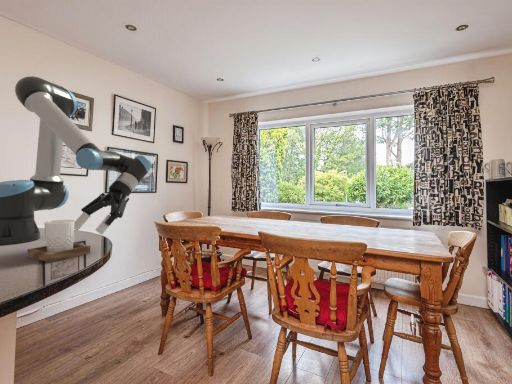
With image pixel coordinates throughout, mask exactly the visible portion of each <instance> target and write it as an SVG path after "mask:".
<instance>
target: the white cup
mask: <svg viewBox="0 0 512 384" xmlns="http://www.w3.org/2000/svg"><path fill="white" fill-rule="evenodd" d="M75 221H76V220H74V219H55V220H49V221H48V220H47V221H44V224H43V225H44V235H45V246H47V252H49V253H55V252H60V251H65V250H69V249H73V243H75V229H74V223H75Z"/></svg>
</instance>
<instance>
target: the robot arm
mask: <svg viewBox="0 0 512 384" xmlns="http://www.w3.org/2000/svg"><path fill="white" fill-rule="evenodd" d="M14 92H15V96H16V98H17V100H18V101H19V102H20V103H21V105H22V106H23V107H24V108H25V109H26V110H27V111H29V112H31V113H34V114H35V115H36V116H37V117H38V118H39V125H38V127H39V129H38V139H37V151H36V159H35V161H36V163H35V173H34V175H33V176H31V177H30V179H17V180H6V181H4V180H3V181H0V245H11V244H13V245H15V244H21V243H28V242H32V241H37V240H39V239H40V238H41V233H40V232H41V231H40V230H39V227H38V225H37V222H36V221H35V212H37V211H45V210H46V211H47V210H48V211H50V210H51V211H52V210H54V209H58V208H61V207H62V206H64V205H65V204H66V203H67V201H68V199H69V190H68V188H67V185H65V184H64V179H63V178H62V177H61V169H62V168H61V167H62V157H63V145H64V144H65V146H66V147H67V148H68V149H69V150H70V151H71V152H72V153H73V154H74V155H75V160H76V164H77V166H79V167H80V168H82V169H84V170H88V171H110V172H116V173H119V176H118V177H117V178H116V179H115V180H114V181H113V182H112V183H111V184H110V185H109V186H108V193H107V194H105V193H104V192H102V193H100V194H99V195H98V196H97V197H95V198H94V199H93V200H91V201H90V202H89V203H87V204H86V205H85V206H84V207H82V208H81V209H80V211H82V213H81V214H80V216H78V218H77V219H76V220H74V221H75V223H74V231H79V230H80V229H81V228H82V227H83V225H85V223H86V222H87V221H88V220H89V219H90V218H91V215H92V214H94V213H96V212H98V211H99V210H102V209H103V208H107V207H110V212H109V213H108V214H107V215H106V216H105V218H104V219H103V220H102V221H101V222H100V223H99V224H98V226H97V227H96V228H95V231H96V232H98V233H99V235H103V234H104V233H105V232H106V230H107V229H109V227H110V226H111V225H112V223H114V221H115V220H117V219H118V218H119V219H122V217H123V215H124V212H125V209H126V207H127V204H128V202H129V200H130V198H129V196H130V195H131V193H132V192H133V191H134V190H135V189H136V188H137V186H138V185H139V184H140V183H141V181H142V180H143V178H145V177H146V176H147V174H148V173H149V172H150V170H151V168H152V161H151V160H150V159H149V158H148V157H146V156H145V155H141V154H140V155H139V154H138V155H137V156H135V157H134V158H133V157H130V156H126V155H123V154H121V153H118V152H116V151H112V150H109V149H107V150H106V149H105V150H101V149H100V148H99V147H98V146H97V145H96V144H95V143H94V142H93V141H92V140H91V139H90V138H89V137H88V136H87V135H86V134H85V133H84V132H83V131H82V130H81V128H79V127H78V125H76V123H74V122H73V120H72V119H71V118H70V117H71V116H72V115H74V113H76V111H77V109H78V101H77V98H76V96H75V95H74V93H73V92H72V91H70V90H69V89H67V88H65V87H63V86H61V85H58V84H55V83H54V82H53V83H52V82H51V81H47V80H45V79H44V78H41V77H38V76H30V75H29V76H25V77H22V78H20V79H19V80H18V81H17V83H16V84H15V86H14Z"/></svg>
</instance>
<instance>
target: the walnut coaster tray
mask: <svg viewBox="0 0 512 384" xmlns="http://www.w3.org/2000/svg"><path fill="white" fill-rule="evenodd" d="M87 254H91V245H88V244H82V243H78V242H73V249H69V250H65V251H60V252H55V253H49V252H47V246H46V245H45V246H38V247H33V248H28V249H27V257H28V258H31V259H34V260H39V261H42V262H47V263H51V264H52V263H54V262H59V261H63V260H67V259H71V258H75V257H80V256H83V255H87Z"/></svg>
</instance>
